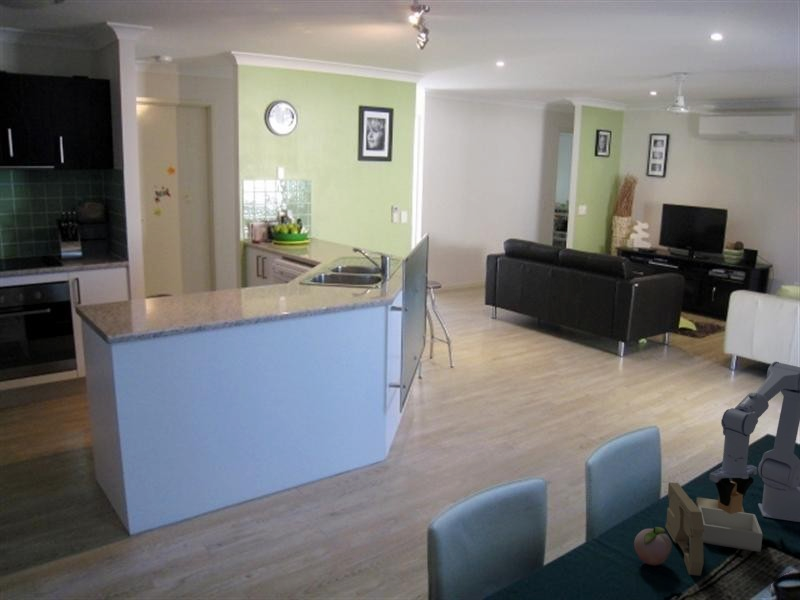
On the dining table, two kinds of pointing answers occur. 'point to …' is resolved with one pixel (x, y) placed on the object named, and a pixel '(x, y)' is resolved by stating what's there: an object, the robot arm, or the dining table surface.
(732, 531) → the bin
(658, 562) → the decorative fruit
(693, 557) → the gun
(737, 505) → the orange knobbed block
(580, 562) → the dining table surface
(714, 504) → the stud board
